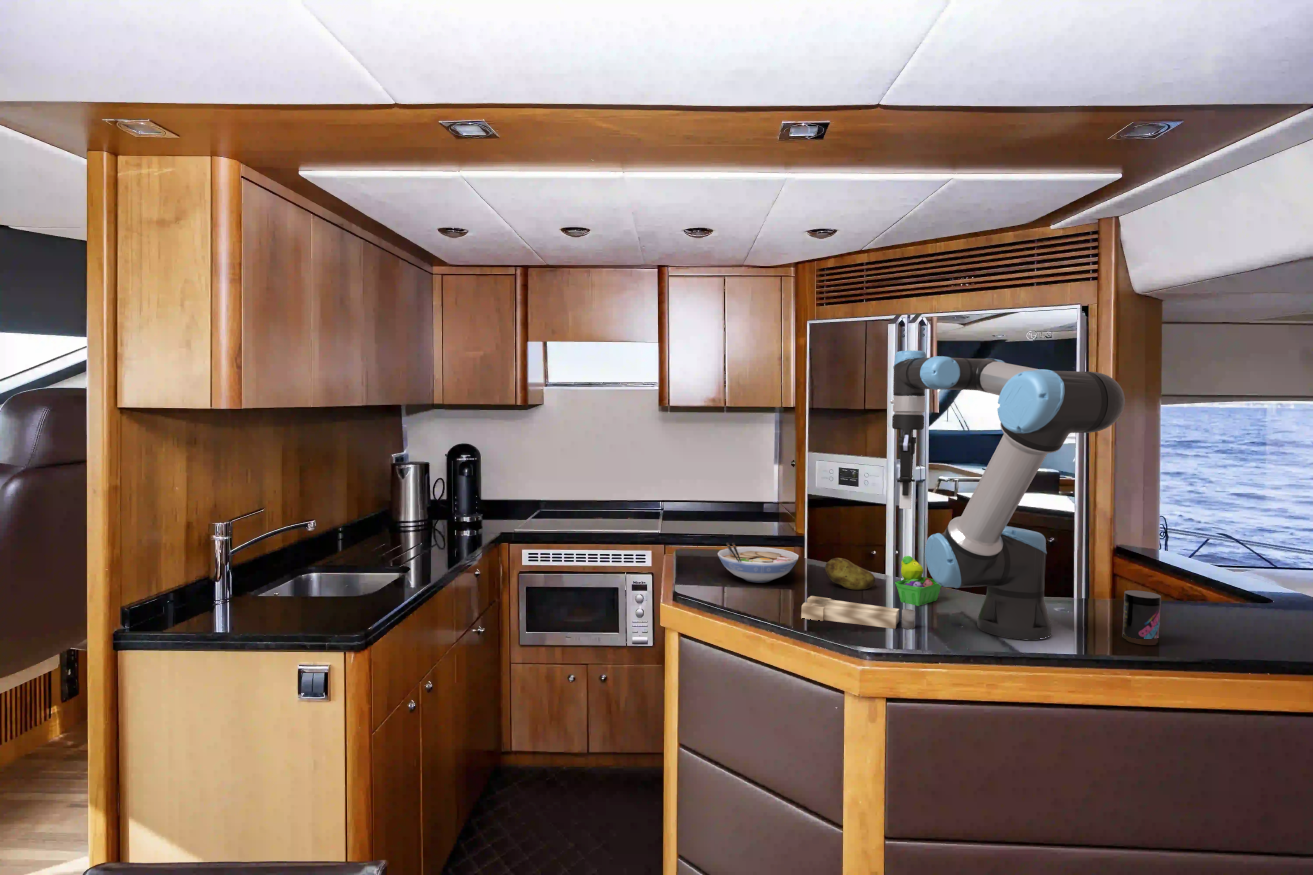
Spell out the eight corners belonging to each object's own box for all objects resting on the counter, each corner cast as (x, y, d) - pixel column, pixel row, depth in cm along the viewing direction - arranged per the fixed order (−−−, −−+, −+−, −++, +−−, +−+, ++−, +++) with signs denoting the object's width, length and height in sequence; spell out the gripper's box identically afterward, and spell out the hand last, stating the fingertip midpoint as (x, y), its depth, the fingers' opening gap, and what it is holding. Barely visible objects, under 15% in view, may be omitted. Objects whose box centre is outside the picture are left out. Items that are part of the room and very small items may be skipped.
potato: (870, 594, 207) (871, 564, 206) (822, 588, 212) (822, 559, 212) (876, 587, 214) (877, 558, 214) (829, 582, 220) (830, 553, 219)
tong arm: (899, 620, 181) (899, 607, 181) (896, 624, 178) (897, 611, 178) (810, 607, 191) (811, 595, 191) (806, 611, 188) (807, 598, 188)
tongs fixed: (915, 626, 178) (915, 609, 177) (913, 632, 173) (913, 615, 173) (805, 613, 187) (805, 597, 187) (801, 618, 183) (801, 602, 182)
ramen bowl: (806, 591, 208) (806, 561, 208) (719, 590, 209) (720, 559, 208) (791, 571, 233) (791, 543, 233) (714, 569, 234) (714, 542, 233)
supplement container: (1132, 646, 166) (1134, 597, 165) (1115, 636, 173) (1118, 589, 172) (1165, 647, 166) (1168, 598, 165) (1147, 637, 172) (1150, 590, 172)
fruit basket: (920, 608, 194) (922, 563, 193) (889, 600, 200) (890, 557, 200) (944, 600, 201) (945, 557, 201) (912, 594, 208) (914, 551, 207)
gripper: (895, 413, 201) (892, 504, 203) (889, 413, 189) (886, 510, 191) (925, 413, 199) (922, 506, 200) (922, 414, 187) (919, 512, 188)
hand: (905, 508), depth 195 cm, fingers closed
